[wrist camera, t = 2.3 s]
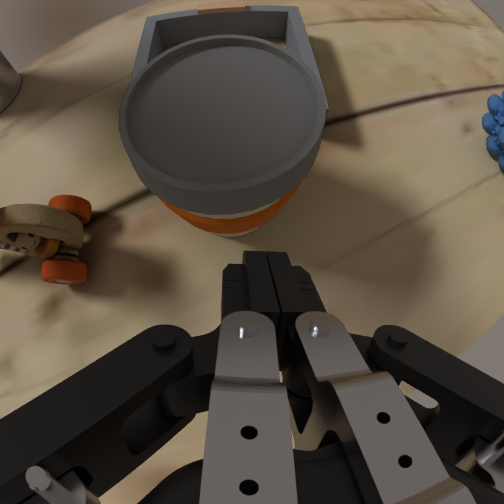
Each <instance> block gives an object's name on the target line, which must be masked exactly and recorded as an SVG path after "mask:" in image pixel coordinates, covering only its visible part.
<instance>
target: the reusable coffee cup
mask: <svg viewBox="0 0 504 504" xmlns="http://www.w3.org/2000/svg"><path fill="white" fill-rule="evenodd" d="M325 115H326V103H325V97H324V92H323V89H322V87H321V85H320V83H319V80H318V78H317V77H316V75H315V74H314V73H313V71H312V70H311V69H310V67H309V66H308V65H307V64H306V63H305V62H304V61H302V60H301V59H300V58H299V57H298V56H297V55H295V54H294V53H292V52H290V51H289V50H287V49H286V48H284V47H282V46H280V45H277V44H275V43H273V42H270V41H268V40H264V39H260V38H256V37H252V36H244V35H234V34H231V35H213V36H207V37H201V38H197V39H193V40H190V41H187V42H184V43H181V44H179V45H177V46H174V47H172V48H170V49H168V50H166V51H165V52H163V53H161V54H160V55H158V56H157V57H155V58H154V59H152V60H151V61H150V62H149V63H148V64H147V65H146V66H145V67H144V68H142V69H141V70H140V71H139V73H138V74H137V75H136V76H135V78H134V79H133V80H132V82H131V83H130V85H129V87H128V88H127V90H126V92H125V94H124V96H123V99H122V103H121V107H120V111H119V130H120V134H121V139H122V143H123V145H124V147H125V149H126V152H127V154H128V156H129V159H130V161H131V163H132V165H133V167H134V169H135V171H136V173H137V174H138V176H139V178H140V180H141V181H142V182H143V183H144V184H145V185H146V186H147V188H148V189H149V190H150V191H151V192H152V193H153V194H155V195H156V196H158V197H159V198H160V199H161V201H162V202H163V203H164V204H165V205H166V206H167V207H168V208H170V209H171V210H172V211H174V212H175V213H176V214H178V215H179V216H180V217H182V218H183V219H184V220H186V221H187V222H189V223H190V224H192V225H193V226H195V227H197V228H200V229H202V230H205V231H208V232H210V233H213V234H215V235H219V236H224V237H236V236H241V235H245V234H247V233H250V232H252V231H254V230H255V229H257V228H258V227H260V226H261V225H262V224H264V223H265V222H267V221H269V220H270V219H271V218H273V217H274V216H275V215H276V214H277V213H278V212H279V211H280V210H281V208H282V207H283V206H284V205H285V204H286V202H287V201H288V200H289V199H290V198H291V196H292V195H293V194H294V192H295V191H296V189H297V188H298V186H299V185H300V183H301V182H302V180H303V179H304V178H305V176H306V175H307V173H308V172H309V170H310V169H311V167H312V166H313V164H314V162H315V159H316V156H317V154H318V151H319V148H320V143H321V139H322V134H323V129H324V124H325Z"/></svg>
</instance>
